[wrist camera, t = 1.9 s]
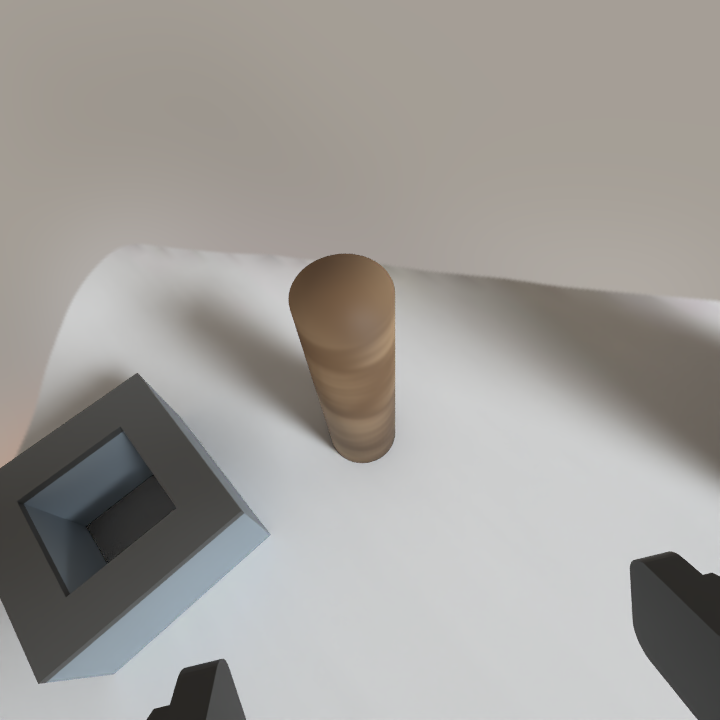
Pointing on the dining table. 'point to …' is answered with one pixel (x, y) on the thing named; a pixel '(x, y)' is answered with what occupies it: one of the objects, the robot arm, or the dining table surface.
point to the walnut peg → (350, 349)
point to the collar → (79, 551)
